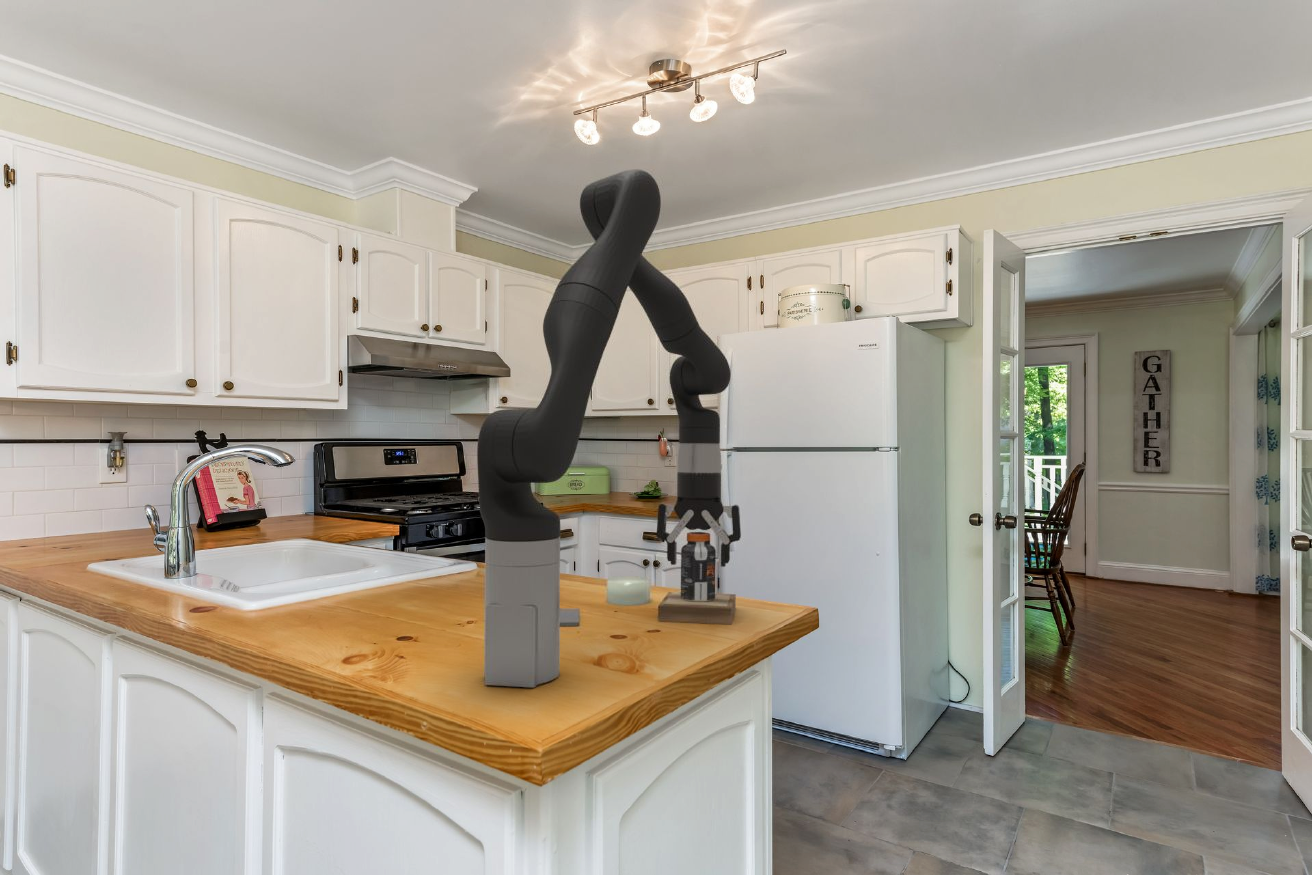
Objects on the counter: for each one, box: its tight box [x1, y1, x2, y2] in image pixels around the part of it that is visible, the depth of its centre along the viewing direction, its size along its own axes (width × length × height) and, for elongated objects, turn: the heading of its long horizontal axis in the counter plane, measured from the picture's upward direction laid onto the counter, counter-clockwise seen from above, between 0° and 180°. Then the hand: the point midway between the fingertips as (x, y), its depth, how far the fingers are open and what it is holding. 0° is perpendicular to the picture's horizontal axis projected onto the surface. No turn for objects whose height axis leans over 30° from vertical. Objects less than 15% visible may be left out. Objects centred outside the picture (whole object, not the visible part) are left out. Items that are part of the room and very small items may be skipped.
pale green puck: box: [606, 576, 651, 607], centre depth 138 cm, size 8×8×4 cm
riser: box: [657, 591, 737, 625], centre depth 127 cm, size 12×12×3 cm
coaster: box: [560, 608, 580, 627], centre depth 123 cm, size 10×10×1 cm
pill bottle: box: [680, 531, 717, 602], centre depth 127 cm, size 6×6×11 cm
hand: (698, 565), depth 127 cm, fingers open, 8 cm apart
